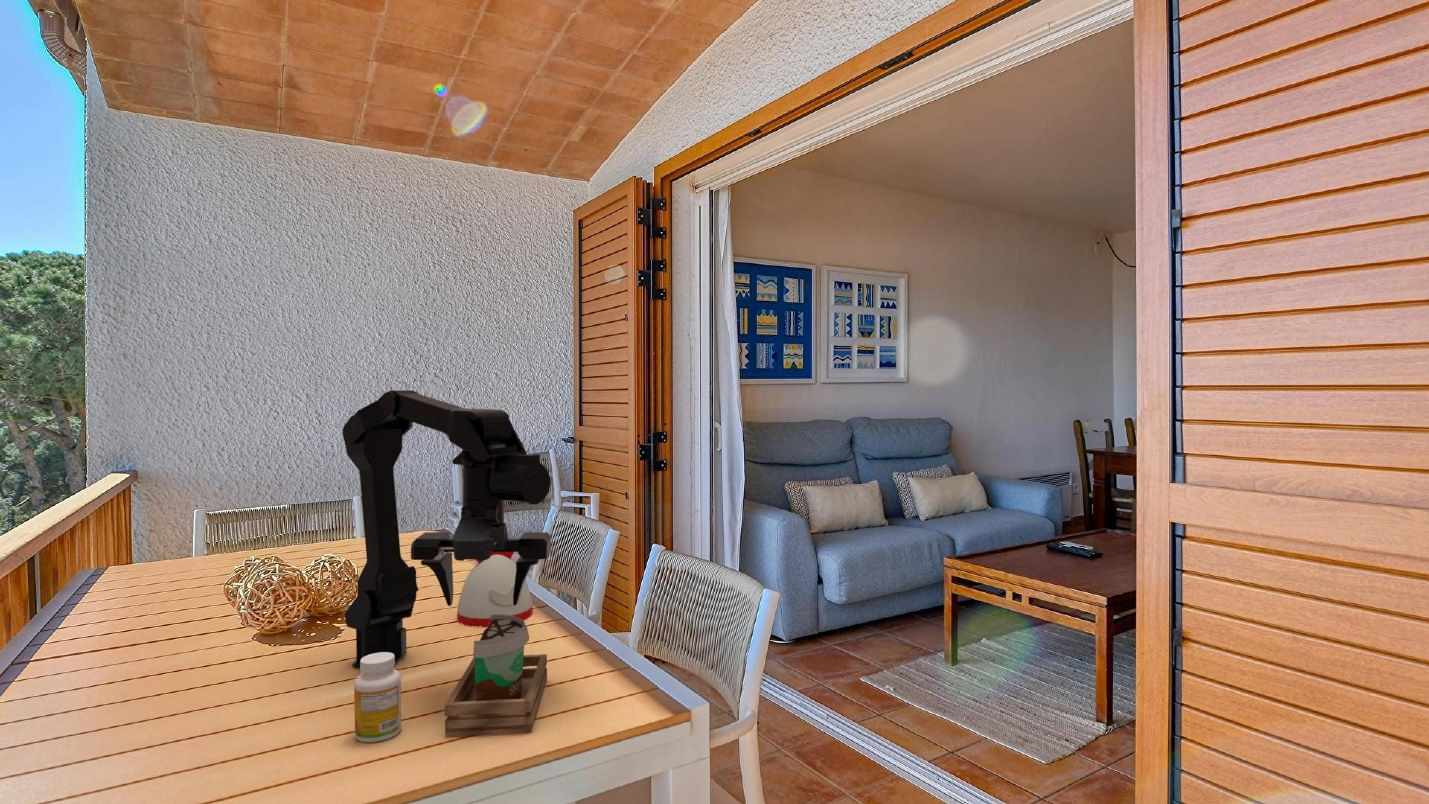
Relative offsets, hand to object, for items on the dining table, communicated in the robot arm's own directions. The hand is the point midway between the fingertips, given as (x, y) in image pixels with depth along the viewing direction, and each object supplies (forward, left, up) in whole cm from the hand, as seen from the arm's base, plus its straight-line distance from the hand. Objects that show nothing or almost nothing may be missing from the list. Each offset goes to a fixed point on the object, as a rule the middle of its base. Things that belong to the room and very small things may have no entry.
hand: (482, 604), depth 108 cm
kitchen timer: (-5, +36, -13) cm, 38 cm away
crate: (+3, -6, -12) cm, 14 cm away
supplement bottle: (-11, -12, -13) cm, 21 cm away
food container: (+4, -6, -12) cm, 14 cm away
